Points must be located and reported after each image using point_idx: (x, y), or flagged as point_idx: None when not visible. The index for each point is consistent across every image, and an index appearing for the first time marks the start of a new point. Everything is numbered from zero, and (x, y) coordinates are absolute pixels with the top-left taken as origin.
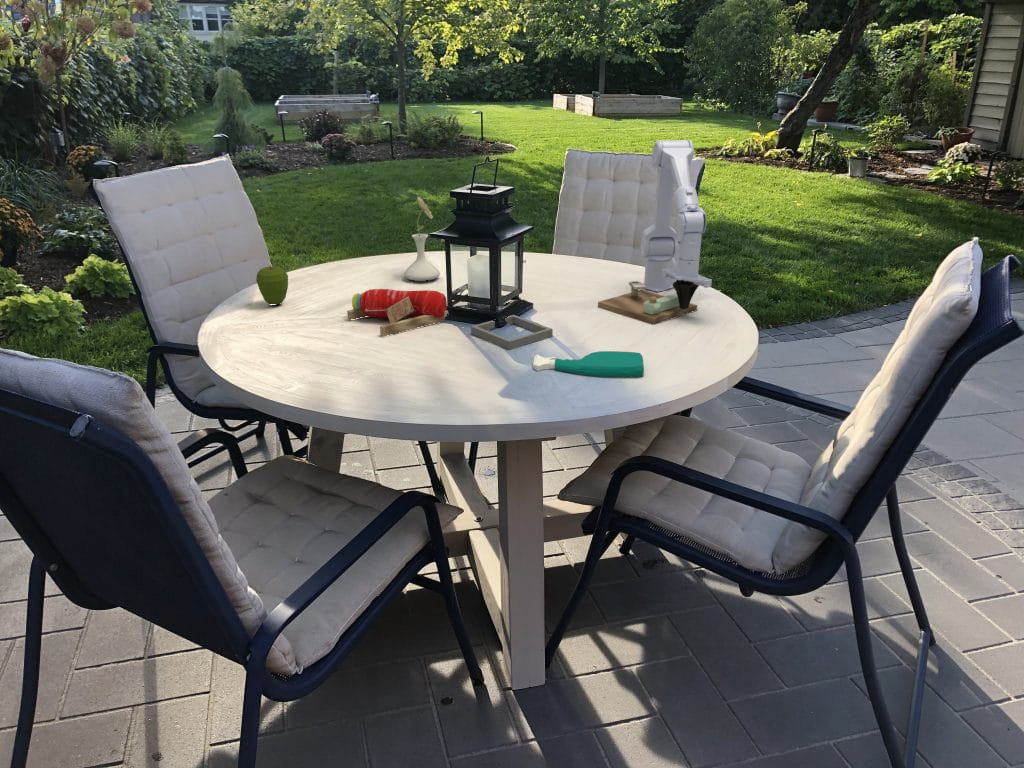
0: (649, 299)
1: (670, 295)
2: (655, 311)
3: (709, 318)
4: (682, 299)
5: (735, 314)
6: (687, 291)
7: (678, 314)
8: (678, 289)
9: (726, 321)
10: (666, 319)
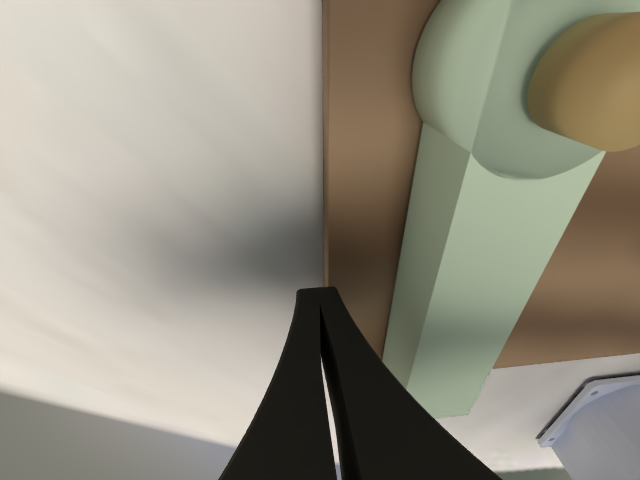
0: (609, 283)
1: (486, 358)
2: (440, 19)
3: (191, 335)
4: (309, 348)
5: (182, 423)
6: (226, 472)
7: (324, 247)
8: (377, 446)
9: (104, 361)
10: (324, 107)
